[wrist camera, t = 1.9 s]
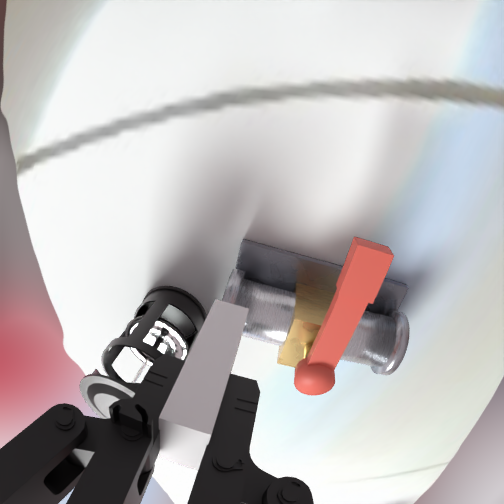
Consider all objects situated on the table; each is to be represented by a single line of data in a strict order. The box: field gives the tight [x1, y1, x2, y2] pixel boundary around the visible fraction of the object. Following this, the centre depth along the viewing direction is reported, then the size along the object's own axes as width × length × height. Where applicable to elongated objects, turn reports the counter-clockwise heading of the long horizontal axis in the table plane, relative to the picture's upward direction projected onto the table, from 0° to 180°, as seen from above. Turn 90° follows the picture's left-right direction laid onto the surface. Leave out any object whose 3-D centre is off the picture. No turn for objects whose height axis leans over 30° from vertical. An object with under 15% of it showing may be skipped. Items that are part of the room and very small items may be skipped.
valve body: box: [222, 239, 409, 375], centre depth 32 cm, size 20×12×10 cm, turn 77°
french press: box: [80, 286, 207, 419], centre depth 30 cm, size 12×9×23 cm
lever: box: [294, 237, 394, 395], centre depth 24 cm, size 15×4×2 cm, turn 167°
